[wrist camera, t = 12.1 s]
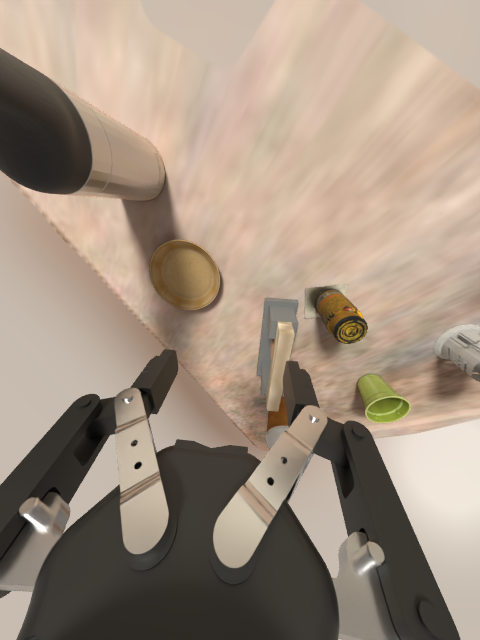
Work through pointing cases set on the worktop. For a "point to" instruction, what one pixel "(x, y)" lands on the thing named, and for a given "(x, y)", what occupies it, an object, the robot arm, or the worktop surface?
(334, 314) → the condiment
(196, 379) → the worktop surface
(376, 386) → the plant pot
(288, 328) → the ash bar
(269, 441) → the disposable coffee cup
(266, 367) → the display stand
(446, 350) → the french press
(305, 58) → the worktop surface
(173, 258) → the plant saucer
